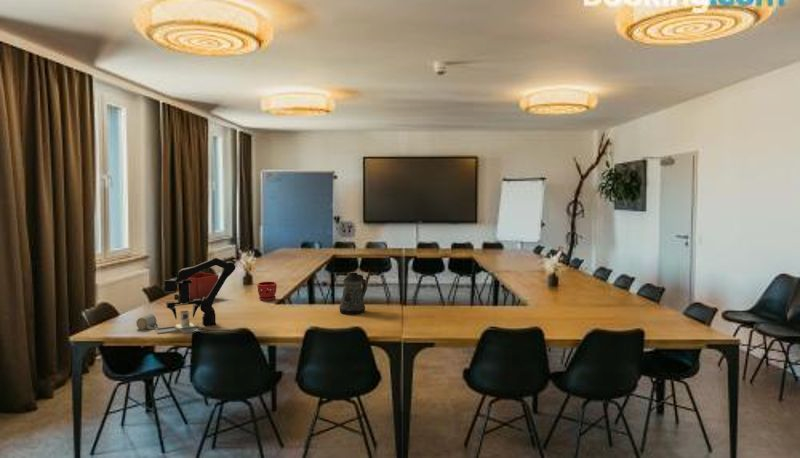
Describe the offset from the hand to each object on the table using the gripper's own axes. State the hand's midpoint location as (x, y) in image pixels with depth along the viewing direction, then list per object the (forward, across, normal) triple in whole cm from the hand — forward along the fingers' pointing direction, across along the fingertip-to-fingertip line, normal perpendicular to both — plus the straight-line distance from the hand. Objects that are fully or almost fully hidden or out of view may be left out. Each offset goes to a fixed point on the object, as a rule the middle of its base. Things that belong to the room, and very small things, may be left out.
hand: (184, 318), depth 307 cm
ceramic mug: (+5, +18, -5) cm, 20 cm away
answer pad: (+5, 0, 0) cm, 5 cm away
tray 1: (+5, +10, +6) cm, 13 cm away
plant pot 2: (+5, -63, -49) cm, 80 cm away
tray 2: (+5, -1, +13) cm, 14 cm away
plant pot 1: (+5, -23, -77) cm, 81 cm away
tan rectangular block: (+4, 0, 0) cm, 4 cm away
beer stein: (+5, -99, +15) cm, 100 cm away
